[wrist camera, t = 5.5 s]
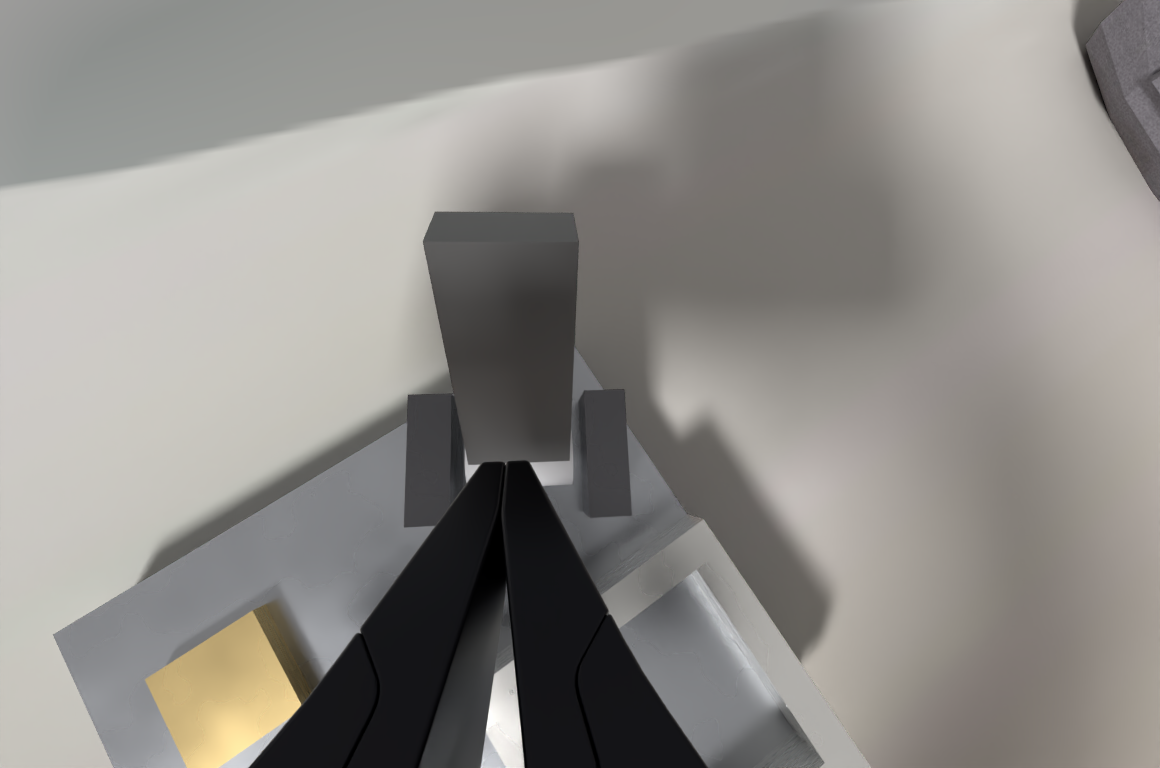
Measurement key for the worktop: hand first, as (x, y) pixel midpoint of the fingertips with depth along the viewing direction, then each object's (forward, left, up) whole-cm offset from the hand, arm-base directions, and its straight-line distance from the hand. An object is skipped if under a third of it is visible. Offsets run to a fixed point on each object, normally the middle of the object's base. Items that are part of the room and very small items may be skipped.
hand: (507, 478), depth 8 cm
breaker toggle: (+1, 0, -5) cm, 5 cm away
